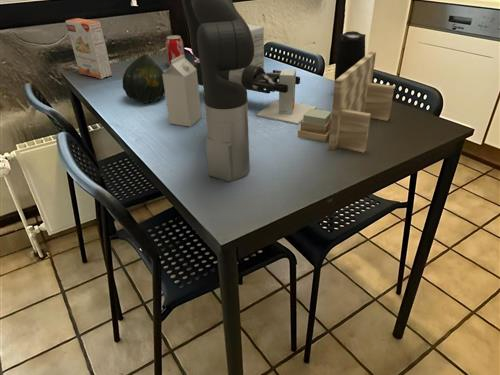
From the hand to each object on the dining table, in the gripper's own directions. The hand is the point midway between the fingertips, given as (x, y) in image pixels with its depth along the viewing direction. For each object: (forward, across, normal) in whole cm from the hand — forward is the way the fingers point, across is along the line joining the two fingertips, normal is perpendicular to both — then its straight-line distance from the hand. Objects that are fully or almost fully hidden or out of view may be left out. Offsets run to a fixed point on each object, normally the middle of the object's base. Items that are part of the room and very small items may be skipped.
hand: (293, 84), depth 118 cm
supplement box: (-35, +26, +9) cm, 45 cm away
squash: (-50, -11, +9) cm, 52 cm away
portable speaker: (+9, +23, +9) cm, 26 cm away
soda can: (-65, +23, +9) cm, 70 cm away
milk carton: (-26, -20, +9) cm, 34 cm away
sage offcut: (+12, -11, +5) cm, 17 cm away
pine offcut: (+12, -11, +10) cm, 19 cm away
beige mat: (-2, 0, +9) cm, 9 cm away
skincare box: (-2, 0, +9) cm, 9 cm away
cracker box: (-87, -1, +9) cm, 88 cm away
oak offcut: (+12, -11, +7) cm, 18 cm away
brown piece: (+23, -3, +9) cm, 25 cm away
